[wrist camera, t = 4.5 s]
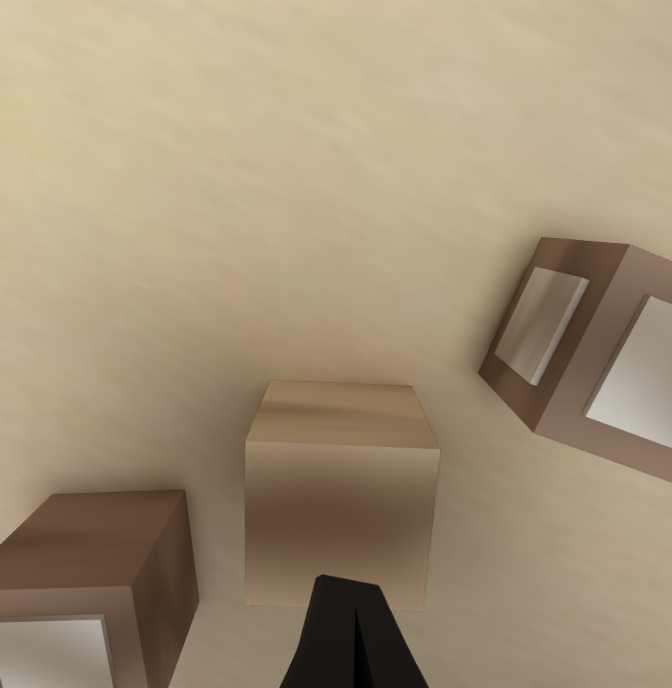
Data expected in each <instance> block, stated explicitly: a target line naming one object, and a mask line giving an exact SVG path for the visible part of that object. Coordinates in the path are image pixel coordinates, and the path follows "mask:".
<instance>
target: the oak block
mask: <svg viewBox="0 0 672 688" xmlns="http://www.w3.org/2000/svg"><path fill="white" fill-rule="evenodd" d="M440 451H441V449H440V447H439V445H438V443H437V440H436V438H435V436H434V434H433V432H432V429H431V427H430V425H429V423H428V421H427V418H426V416H425V414H424V412H423V410H422V407H421V405H420V403H419V401H418V399H417V396H416V394H415V392H414V390H413V388H412V386H398V385H376V384H354V383H331V382H309V381H287V380H270V382H269V385H268V387H267V390H266V392H265V394H264V397H263V399H262V402H261V404H260V406H259V409H258V411H257V414H256V416H255V419H254V421H253V423H252V426H251V428H250V431H249V433H248V435H247V438H246V440H245V605H259V606H284V607H308V606H309V602H310V598H311V594H312V590H313V586H314V582H315V578H316V577H318V576H320V575H321V574H324V575H329V576H334V577H340V578H345V579H350V580H355V581H360V582H366V583H371V584H376V585H379V586H380V588H381V590H382V591H383V594H384V596H385V598H386V601H387V603H388V605H389V608H390V610H391V611H408V612H423V606H424V597H425V588H426V579H427V570H428V561H429V551H430V542H431V533H432V524H433V515H434V506H435V497H436V487H437V478H438V469H439V460H440Z"/></svg>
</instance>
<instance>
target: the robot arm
mask: <svg viewBox="0 0 672 688" xmlns="http://www.w3.org/2000/svg"><path fill="white" fill-rule="evenodd" d="M280 688H429V687H428V685H427V683H426V681H425V679H424V677H423V675H422V673H421V671H420V670H419V668H418V666H417V664H416V662H415V660H414V658H413V656H412V654H411V652H410V650H409V648H408V646H407V644H406V642H405V640H404V638H403V636H402V634H401V631H400V629H399V627H398V625H397V623H396V621H395V619H394V616H393V614H392V612H391V610H390V608H389V605H388V603H387V601H386V598H385V596H384V594H383V591H382V590H381V588H380V586H379V585H376V584H371V583H366V582H360V581H355V580H350V579H345V578H340V577H334V576H329V575H324V574H321V575H320V576H318V577H316V578H315V582H314V586H313V590H312V594H311V598H310V602H309V606H308V610H307V614H306V618H305V622H304V626H303V630H302V634H301V638H300V642H299V645H298V648H297V650H296V653H295V655H294V658H293V660H292V662H291V664H290V666H289V669H288V671H287V673H286V675H285V677H284V679H283V681H282V684H281V686H280Z"/></svg>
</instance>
